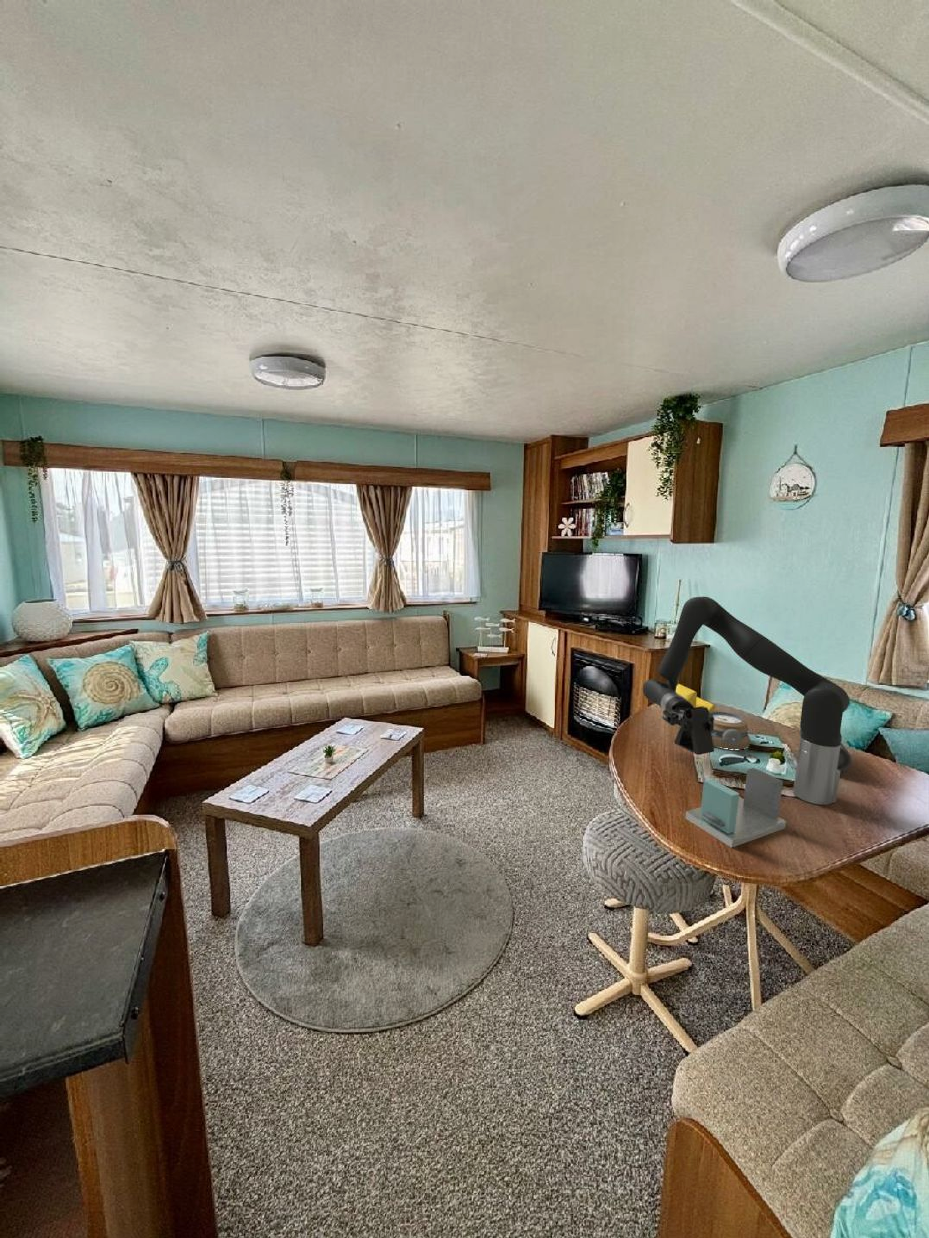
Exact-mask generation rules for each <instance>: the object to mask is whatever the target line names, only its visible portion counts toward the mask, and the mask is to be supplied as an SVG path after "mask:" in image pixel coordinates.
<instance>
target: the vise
mask: <svg viewBox="0 0 929 1238" xmlns="http://www.w3.org/2000/svg"><path fill="white" fill-rule="evenodd" d="M783 785H784V780H781V779H780V778H777V777H775V776H773V775H770V774H769V773H766V772H764V771H762V770H759V769H757V768H755V767H752V768H748V769H746V778H745V787H744V796H743V798H742V797H741V796H739V801H738V810H737V818H736V827H735V832H732V833H729V834H727V833H726V832H724V831H722V830H721V829H719V828H718V827H716V826H714V825H713V824H711V823H709V822H708V821H706V820H705V819H703V818H701V817H700V814H701V806H699V807H696V808H693V809H689V810H686V811H685V820H687V821H688V822H691V823H692V824H693V825H695V826H697V827H698V828H700V829H701V830H703V831H704V832H706V833H708V834H709V835H711V836H712V837H714V838H715V839H717V840H719V841H720V842H721V843H724V845H726V846H728V847H730V848H731V849H732V847H733V848H735V847H737V846H741V845H742V844H746V843H749V842H751V841H755V840H757V839H760V838H762V837H765V836H768V835H770V834H773V833H776V832H780V831H783V830H784V829H786V825H787V824H786V823H787V821H786V820H785V819H782V818H781V817H779V814H780V807H781V799H782V793H783Z"/></svg>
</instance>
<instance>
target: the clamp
mask: <svg viewBox="0 0 929 1238" xmlns="http://www.w3.org/2000/svg"><path fill="white" fill-rule="evenodd" d="M676 693H678V694H679V695H681V696H682V697H684V698H685V699H686V700H687V701H689V702H690V703H691V704H692V705H693V707H694V708H696V707H702V706H704V707H703V708H705V707H707V708H708V710H709V712H715V711H719V710H718V709H716V705H714V704H712V703H711V702H709V701H706V700H704V699H702V698H700V697H698V696H697V695H698V692H697V691H695V690H693V689H691V688H690V687H689V688H688V687H687V686H684V685H683V684H680V683H677V687H676Z"/></svg>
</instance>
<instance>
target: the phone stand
mask: <svg viewBox="0 0 929 1238" xmlns="http://www.w3.org/2000/svg"><path fill="white" fill-rule="evenodd" d="M703 707H704V706H702V707H696V708H690V709H686V710H685V718H684V721H687V722H688V723H689V730H688V731H685V730H684V729H682V728H681V727H680V726H679V727H680V728H679V730H678V732H677V734H676V736H675V739H674V744H675V745H677V746H678V747H681V748H682V749H685V750H687V751H689V752H691V753H693V754H694V755H697V756H699V755H705V754H709V753H714V752H715V747H714V746H713V741H712V736H711V731H708V722H709V720H708V715H709V710H708V708H707V707H705V708H703Z"/></svg>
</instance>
